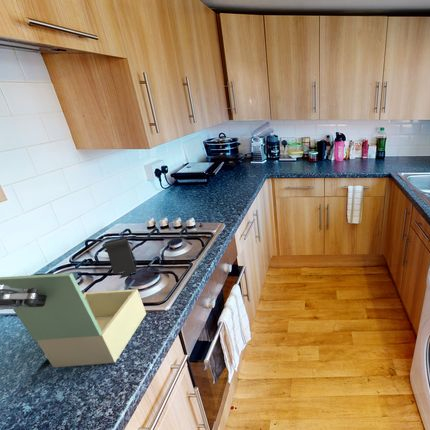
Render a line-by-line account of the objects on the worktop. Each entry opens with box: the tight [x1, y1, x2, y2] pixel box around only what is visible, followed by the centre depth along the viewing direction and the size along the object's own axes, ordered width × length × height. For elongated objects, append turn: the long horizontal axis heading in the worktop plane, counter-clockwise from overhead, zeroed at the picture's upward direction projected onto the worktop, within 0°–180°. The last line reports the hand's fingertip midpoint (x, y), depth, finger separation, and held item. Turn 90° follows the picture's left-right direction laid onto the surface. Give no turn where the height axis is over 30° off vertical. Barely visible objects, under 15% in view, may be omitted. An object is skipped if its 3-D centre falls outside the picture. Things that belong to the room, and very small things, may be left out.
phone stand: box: [104, 236, 137, 279], centre depth 97 cm, size 9×6×12 cm, turn 31°
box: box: [36, 288, 147, 369], centre depth 71 cm, size 16×14×9 cm
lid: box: [0, 272, 102, 341], centre depth 58 cm, size 16×14×1 cm
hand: (41, 301), depth 56 cm, fingers closed
